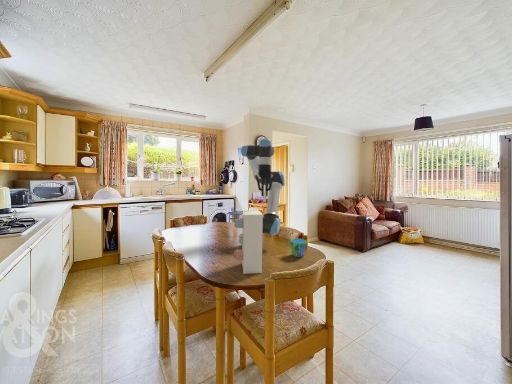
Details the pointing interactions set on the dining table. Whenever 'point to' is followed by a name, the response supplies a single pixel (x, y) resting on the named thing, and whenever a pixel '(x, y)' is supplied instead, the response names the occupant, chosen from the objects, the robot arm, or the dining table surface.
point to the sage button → (241, 238)
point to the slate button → (238, 223)
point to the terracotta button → (238, 254)
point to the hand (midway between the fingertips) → (264, 201)
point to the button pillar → (252, 241)
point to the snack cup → (298, 247)
